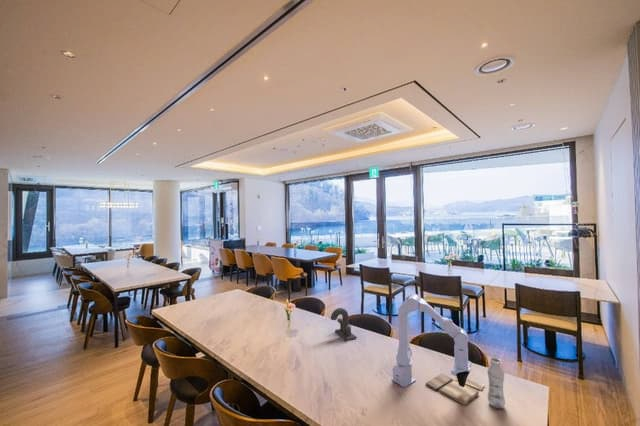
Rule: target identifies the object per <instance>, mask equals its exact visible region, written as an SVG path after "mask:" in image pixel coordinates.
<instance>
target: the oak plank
mask: <svg viewBox="0 0 640 426" xmlns="http://www.w3.org/2000/svg"><path fill="white" fill-rule="evenodd" d="M438 392H439V393H440V394H442V395H444V396H447V397H448V398H451V399H452V400H455V401H457V402H458V403H460V404H462V405H464V406H465V405H466V404H467V403H468V402H470V401H472V400H473V399H474V398H476V397H477V396H478V395H479V394H480V390H478V389H475V388H472V387H470V386H467V385H465V386H464V387H462V386H460V385H459V383H458V382H457V381H455V379H453V381H451V382H450V383H448V384H447V385H445V386H443V387H442V388H440V389H439V390H438Z"/></svg>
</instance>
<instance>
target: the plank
mask: <svg viewBox="0 0 640 426" xmlns="http://www.w3.org/2000/svg"><path fill="white" fill-rule="evenodd" d="M454 380H455V381H457V382H458V380H457V377H456V378H455V379H454ZM465 385H466V386H468V387H471V388H473V389H475V390H477V391H479V392H483V390H484V389H485V387H486V386H485V384H483V383H480V382H477V381H475V380H472V379H469V378H467V379H466V383H465Z"/></svg>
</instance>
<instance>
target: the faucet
mask: <svg viewBox="0 0 640 426" xmlns="http://www.w3.org/2000/svg"><path fill="white" fill-rule="evenodd" d="M340 315H341V316H342V318H340V317H339V316H340ZM349 318H350V317H349V313H348V311H347V310H346V309H345V308H343V307H337V308H336V309H335V310H333V311H332V312H331V315H330V320H331V321H336V320H337V322H338V323H339V324H340V325H339V329H334V332H335V333H336V334H337V335H338V334H339V337H341V338H342V337H343V338H344V339H343V338H342V339H343V340H345V342H349V341H348V340H350V341H353V340H352V339H354V340H357V339H358V337H357V336H356V335H355V334H354V333H352V326H351V325H350V322H349ZM356 338H357V339H356Z"/></svg>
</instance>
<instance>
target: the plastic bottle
mask: <svg viewBox="0 0 640 426" xmlns="http://www.w3.org/2000/svg"><path fill="white" fill-rule="evenodd" d="M486 372H487V377H488V393H487V402H488V403H489V404H490V406H492V407H493V408H496V409H499V410H500V409H504V407H505V406H506V400H505V395H504V394H505V393H504V381H505V371H504V370H503V369H502V368H501V360H500V359H498V358H494V357H491V358H490V365H489V366H488V367H487V371H486Z"/></svg>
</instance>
